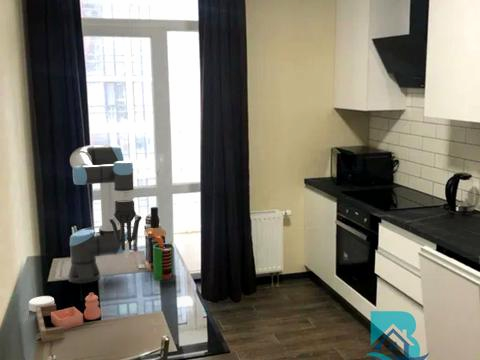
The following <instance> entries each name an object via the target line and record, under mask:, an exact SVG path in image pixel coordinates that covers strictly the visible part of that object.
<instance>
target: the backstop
mask: <svg viewBox="0 0 480 360" xmlns="http://www.w3.org/2000/svg"><path fill="white" fill-rule="evenodd" d="M55 311H57V304H56V303H54V304H50V305H44V306H37V307H36V312H35V314H36V319H37V325H38V330H39V335H40V338H41V343H46V342H52V341H56V340H63V339H65V333H64V332H65V329H64V328H63V326H62V327H56V326H55V327H51V328H47V329H46V325H45V321H44V317H48V316H49V317H50V316H51V312H55Z"/></svg>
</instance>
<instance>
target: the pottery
mask: <svg viewBox="0 0 480 360" xmlns="http://www.w3.org/2000/svg"><path fill="white" fill-rule="evenodd" d="M98 299H99V297H98V295H96V294H95V293H94V292H89V293H88V295H87V296H86V297H85V298H84V300H85V303H84V305H85V307H86V308H85V309H84V311H83V313H82V312H81V311H80V310H78V309H77V308H76V307H75V306H72V307H67V308H64V309H59V310H56V311H55V312H51V315H50V319H51V320H50V321H51V324H53V325H54V327H55V328H56V327H62V326H63V328H64V330H67V329H70V328H73V327H77V326H81V325H84V319H85V320H89V321H90V320H96V319H99V318H100V317H101V314H102V311H101V308H100V307H99V304H100V302H99V301H98Z"/></svg>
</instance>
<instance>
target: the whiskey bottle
mask: <svg viewBox="0 0 480 360" xmlns="http://www.w3.org/2000/svg"><path fill="white" fill-rule="evenodd" d="M150 214H151V218H150V225H151V226H150V227H149V228H147V229H146V230H145V229H144V235H145V236H144V239H145V241H144V242H145V259H144V267H145V269H146V270H147V271H148V272H150V273H151V272H152V273H154V267H153V246H154V245H155V244H159V242H158V241H155V237H157V236H160V237H162V240H163V243H166V235H167V231H166V230H165V229H164V228H162V226H161V227H159V219H160V218H158V216H159V208H158V207H157V206H151V207H150Z"/></svg>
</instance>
